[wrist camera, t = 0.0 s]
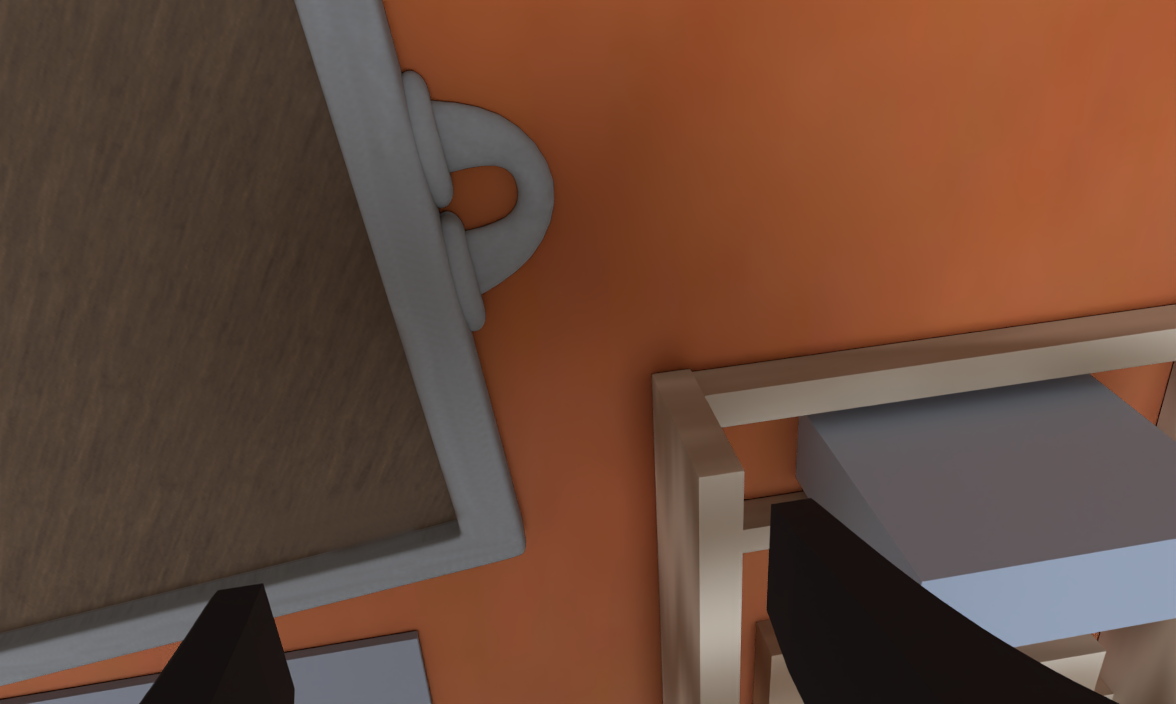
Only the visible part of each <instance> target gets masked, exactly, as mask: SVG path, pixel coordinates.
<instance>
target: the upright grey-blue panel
mask: <svg viewBox="0 0 1176 704" xmlns="http://www.w3.org/2000/svg"><path fill="white" fill-rule="evenodd" d="M796 479H797V481H798V482H799V484H800V485H801V487H802V489H803V490H804V492H805V494H806V495H807V497H808V498H812V499H813V500H815V501H816V502H817V503H818V504H820V505H821V506H822V507H823V508H824V509H826V510H827V511H828V512H829V513H831V514H832V515H833V516H834V517H835V518H837V519H838V520H839V521H840V522H842V523H843V524H844V525H845V526H846V527H848V528H849V529H850V530H851V531H853V532H854V533H855V534H856V535H857V536H859V537H860V538H861V539H862V540H864V541H865V542H866V543H867V544H869V545H870V546H871V547H872V548H873V549H875V550H876V551H877V552H878V553H880V554H881V555H882V556H883V557H885V558H886V559H887V560H889V561H890V562H891V563H892V564H894V565H895V566H896V567H897V568H899V569H900V570H901V571H903V572H904V573H905V574H907V575H908V576H909V577H911V578H912V579H913V580H915V581H916V582H917V583H919V584H920V585H921V586H923V587H924V588H925V589H927V590H928V591H929V592H931V593H932V594H934V595H935V596H936V597H938V598H939V599H940V600H942V601H943V602H945V603H946V604H948V605H949V606H951V607H952V608H954V609H955V610H956V611H958V612H959V613H961V614H962V615H964V616H965V617H967V618H968V619H970V620H971V621H973V622H974V623H976V624H977V625H979V626H980V627H982V628H983V629H985V630H986V631H988V632H990V633H991V634H993V635H994V636H996V637H998V638H999V639H1001V640H1002V641H1004V642H1006V643H1007V644H1009V645H1011V646H1012V647H1018V646H1024V645H1029V644H1035V643H1041V642H1046V641H1052V640H1057V639H1063V638H1068V637H1074V636H1079V635H1085V634H1090V633H1096V632H1102V631H1107V630H1113V629H1118V628H1124V627H1129V626H1135V625H1140V624H1146V623H1152V622H1157V621H1163V620H1168V619H1174V618H1176V442H1175V441H1174V440H1173V439H1172V438H1170V437H1169V436H1168V435H1167V434H1165V433H1164V432H1163V431H1161V430H1160V429H1159V428H1158V427H1156V426H1155V425H1154V424H1153V423H1151V422H1150V421H1149V420H1147V419H1146V418H1145V417H1144V416H1142V415H1141V414H1140V413H1139V412H1137V411H1136V410H1135V409H1133V408H1132V407H1131V406H1130V405H1128V404H1127V403H1126V402H1124V401H1123V400H1122V399H1121V398H1119V397H1118V396H1117V395H1116V394H1114V393H1113V392H1112V391H1110V390H1109V389H1108V388H1107V387H1105V386H1104V385H1103V384H1102V383H1100V382H1099V381H1098V380H1096V379H1095V378H1094V377H1093V376H1091V375H1090V374H1082V375H1075V376H1068V377H1062V378H1055V379H1048V380H1041V381H1034V382H1028V383H1021V384H1014V385H1007V386H1001V387H994V388H987V389H980V390H973V391H967V392H960V393H953V394H946V395H939V396H933V397H926V398H919V399H912V400H905V401H899V402H892V403H885V404H878V405H871V406H865V407H858V408H851V409H844V410H837V411H831V412H824V413H817V414H810V415H803V416H799V423H798V441H797V460H796Z"/></svg>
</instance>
